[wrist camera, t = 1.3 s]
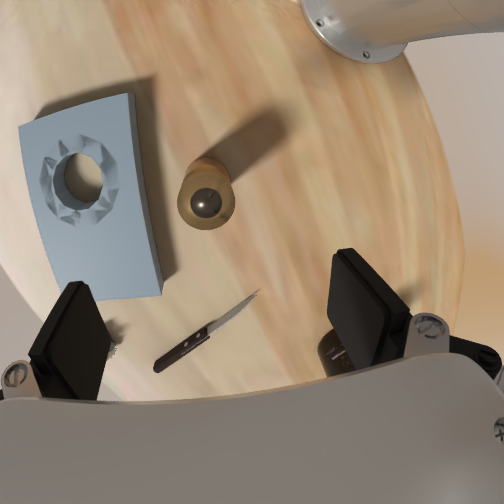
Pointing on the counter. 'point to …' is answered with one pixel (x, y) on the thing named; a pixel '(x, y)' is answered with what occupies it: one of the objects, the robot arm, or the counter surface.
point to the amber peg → (206, 195)
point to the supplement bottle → (334, 356)
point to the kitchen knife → (198, 338)
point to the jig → (96, 212)
